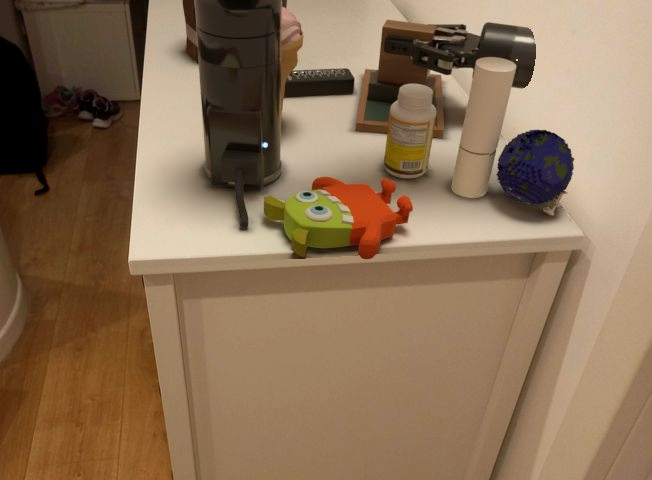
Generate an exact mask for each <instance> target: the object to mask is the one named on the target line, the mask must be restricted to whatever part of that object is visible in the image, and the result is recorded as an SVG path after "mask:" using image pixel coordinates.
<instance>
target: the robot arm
mask: <svg viewBox="0 0 652 480" xmlns="http://www.w3.org/2000/svg"><path fill="white" fill-rule="evenodd" d="M194 5H195V17H196V30H197V45H198V61H199V63H198V74H199V87H200V89H199V90H200V102H201V117H202V130H203V143H204V144H203V145H204V157H205V161H204V171H205V174H206V176H207V177H208V178H209V179H210V185H211V186H215V187H224V188H234V195H235V203H236V208H237V211H238V212H237V213H238V215H239V226H240V228H242V229H247V228H248V227H249V215H248V214H249V213H248V210H247V206H246V202H245V195H244V194H245V193H244V189H246V190H255V191H256V190H257V191H261V190H263V188H264V186H265V185H268V184H270V183H272V182H274V181H275V180H277V179H278V178H279V176H280V175H281V173H282V160H281V153H282V152H281V149H282V148H281V147H282V145H281V144H282V143H281V138H282V137H281V134H282V133H281V131H282V128H281V127H282V126H281V125H282V115H281V52H282V0H194ZM427 25H434V26H437V29H436V35H435V36H433V37H431V38H430V39H429V40H428V39H418V38H415V39H413V38H408V37H401V36H394V35H387V36H386V38H385V42H384V52H386V53H390V54H397V55H404V56H410V59H413V61H412V64H414V65H417V66H420V67H423V68H426V69H429V70H430V71H433V72H435V73H437V74H440V75H445V76H451V75H452V72H453V69H455V70H458V69H472V77H471V78H472V80H473V75H474V70H475V65H476V61H477V60H478V59H480V58H484V57H497V58H503V59H507V60H509V61H511V62H513V63H515V64H516V70H515V75H514V79H513V83H512V87H511V88H512V89H513V88H514V89H520V90H521V89H523V88H525V87H526V86H528V84H529V82H530V81H531V78H532V75H533V71H534V66H535V59H536V44H535V39H534V35H533V32H532V31H531V29H529V28H530V27H529V28H528V26H520V25H514V24H505V23H497V22H490V21H488V22H485V23H484V24H483V26H482V28H481V32H480V35H478V34H474V33H472V32H469V31H468V30H467V25H466V24H464V23H461V24H460V23H458V24H457V23H456V24H453V23H452V24H451V23H450V24H449V23H448V24H446V23H445V24H444V23H443V24H441V23H439V24H434V23H433V24H431V23H428V24H427ZM423 52H425V53H427V54H423ZM516 59H518V61H516ZM523 90H524V89H523Z"/></svg>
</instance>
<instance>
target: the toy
mask: <svg viewBox="0 0 652 480" xmlns="http://www.w3.org/2000/svg"><path fill="white" fill-rule="evenodd" d="M380 185H381V186H380V187H381V191H380V192H376V191H375V190H374V189H373V188H372V187H371V186H370V184H367V183H345V182H343V181H341V180H338V179H336V178H333V177H329V176H318V177H316V178H315V179H313V181H312V183H311V190H304V191H299V192H296V193H294V194H292V195H290V196H289V197H288V198H287V199H286V200H285V201H282V200H280V199H279V198H276V197H274V196H273V195H266V196H264V197H263V215H264V216H265V218H266V219H267V220H269V221H272V222H274V221H277V222H278V221H280V222H281V221H282V222H283V230H284V232H285V235H286V236H287V238H288V239H289V240H290V241H291V243H290V245H291V246H290V250H291V251H292V252H293V253H294V254H296V255H298V256H300V257H305V256H306V251H307V249H308V248H307V247H310V248H317V249H333V248H341V247H349V246H356V245H358V247H357V248H358V256H359V257H360V258H361V259H362V260H371V259H373V258H374V257H375V256H376V255H377V254H378V252H379V249H380V245H381V241H382V240H385V239H388V238H390V237H391V236H393V235H394V234H395V231H396V227H397V226H398V225H405V224H409V223H408V222H409V217H410V214H411V212H412V211H413V210H414V206H413V202H412V200H411V198H410V197H409V196H408V195H400V196H399V197H398V198H397V199H396V207H397V209H398V210H397V211H393V209H391V207H390V206H389V205H391V201H392V196H393V194H394V193H395V192H396V191H397V184H396V182H395V181H394V180H392V179H390V178H386V177H384V178H382V179H381V180H380Z"/></svg>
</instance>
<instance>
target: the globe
mask: <svg viewBox="0 0 652 480" xmlns="http://www.w3.org/2000/svg"><path fill="white" fill-rule="evenodd" d="M574 161H575V158H574V157H573V154H572V149H571V148H570V147H569V143H567V142H566V140H565V139H564V138H563V137H561V136H560V135H558V134H557V133H555V132H552V131H550V130H549V131H548V130H547V129H529V131H525V132H521V133H519V134H517V135H516V136H514V138H512V139H511V140H510V141H508V143H507V144H505V145H504V147H503V149H502V151H501V153H500V155H499V157H498V159H497V164H496V166H497V167H496V168H497V173H496V177H497V178H496V180H497V181H498V183H499V185H500V187H501V188H502V191H503V192H504V194H505V195H506V196H507V197H509V198H512V199H513V200H514V201H516V202H519V203H520V204H524V205H528V206H530V205H531V206H540V208H541V209H542V211H543V212H544V213H546V215H549V216H553V217H554V216H555V211H556V208H559V207H562V203H561V202H560V201H561V199H562V197H563V196H564V195H568V193H569V192H567V191H566V190H567V188H568V186H569V184H570V183H571V180H572V179H573V174H574V173H573V172H574V169H575V166H574ZM548 202H552V205H551V206H549V205H548V206H546V205H544V204H545V203H548ZM541 205H542V206H541ZM543 205H544V206H543Z"/></svg>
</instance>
